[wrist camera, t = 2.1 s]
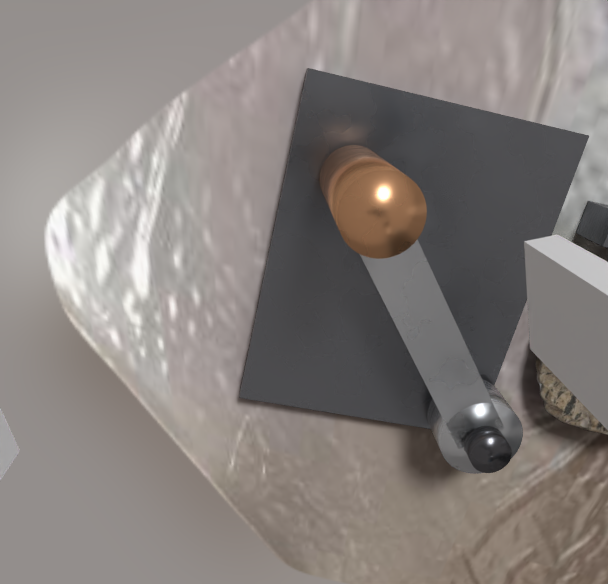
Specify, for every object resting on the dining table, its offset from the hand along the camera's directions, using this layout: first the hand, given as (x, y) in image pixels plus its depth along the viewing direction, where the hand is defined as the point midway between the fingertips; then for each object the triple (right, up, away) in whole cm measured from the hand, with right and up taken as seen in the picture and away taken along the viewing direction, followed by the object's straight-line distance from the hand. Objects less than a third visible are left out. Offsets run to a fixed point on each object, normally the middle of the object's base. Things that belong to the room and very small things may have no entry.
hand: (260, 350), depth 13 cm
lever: (+8, 0, +21) cm, 22 cm away
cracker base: (+16, +1, +23) cm, 27 cm away
